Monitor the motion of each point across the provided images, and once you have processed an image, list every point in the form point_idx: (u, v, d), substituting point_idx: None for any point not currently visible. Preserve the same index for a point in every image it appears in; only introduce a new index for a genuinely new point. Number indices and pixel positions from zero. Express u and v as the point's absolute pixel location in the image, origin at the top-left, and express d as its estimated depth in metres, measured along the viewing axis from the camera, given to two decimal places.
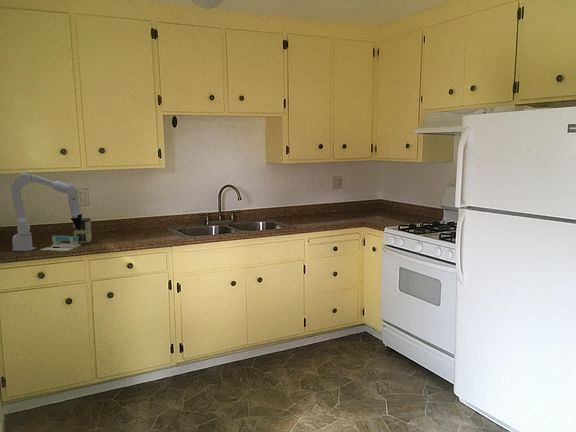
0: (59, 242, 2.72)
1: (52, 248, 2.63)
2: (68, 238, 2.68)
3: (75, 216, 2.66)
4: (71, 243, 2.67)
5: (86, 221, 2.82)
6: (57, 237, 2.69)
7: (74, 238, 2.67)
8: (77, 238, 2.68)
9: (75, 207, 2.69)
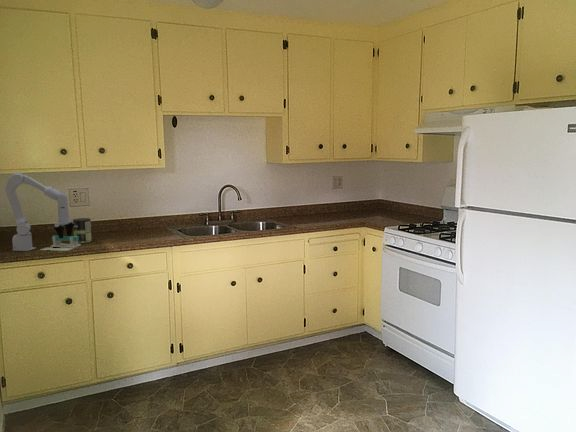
0: (59, 242, 2.72)
1: (52, 248, 2.63)
2: (68, 238, 2.68)
3: (56, 225, 2.61)
4: (71, 243, 2.67)
5: (86, 221, 2.82)
6: (57, 237, 2.69)
7: (74, 238, 2.67)
8: (77, 238, 2.68)
9: (61, 216, 2.65)
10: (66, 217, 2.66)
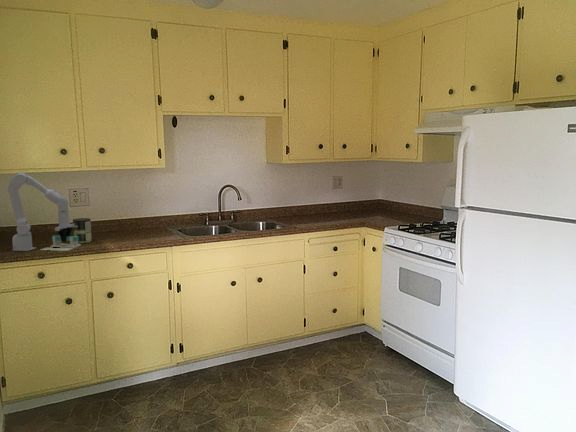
0: (59, 242, 2.72)
1: (52, 248, 2.63)
2: (68, 238, 2.68)
3: (56, 229, 2.62)
4: (71, 243, 2.67)
5: (86, 221, 2.82)
6: (57, 237, 2.69)
7: (74, 238, 2.67)
8: (77, 238, 2.68)
9: (61, 220, 2.65)
10: (66, 221, 2.67)
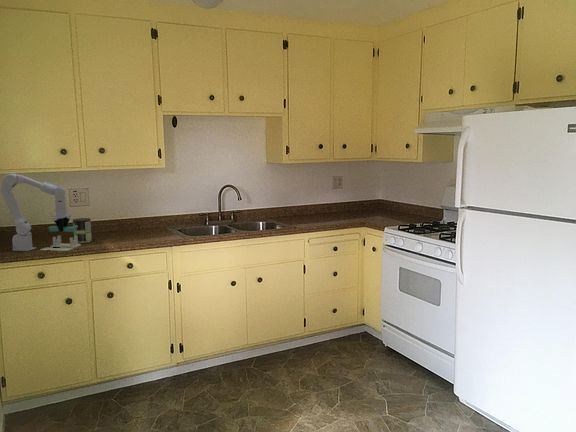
0: (59, 242, 2.72)
1: (52, 248, 2.63)
2: (65, 229, 2.65)
3: (53, 219, 2.59)
4: (71, 243, 2.67)
5: (86, 221, 2.82)
6: (54, 228, 2.67)
7: (72, 229, 2.65)
8: (75, 229, 2.66)
9: (59, 210, 2.63)
10: (64, 211, 2.64)
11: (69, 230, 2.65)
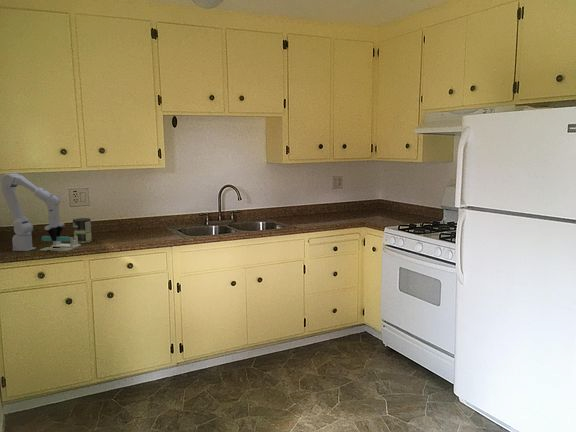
0: (59, 242, 2.72)
1: (52, 248, 2.63)
2: (58, 238, 2.60)
3: (46, 228, 2.53)
4: (71, 243, 2.67)
5: (86, 221, 2.82)
6: (47, 237, 2.61)
7: (65, 238, 2.59)
8: (68, 238, 2.60)
9: (51, 219, 2.57)
10: (57, 220, 2.58)
11: (62, 240, 2.59)
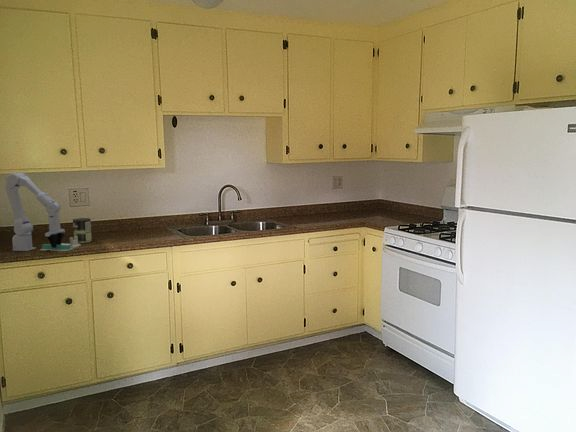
0: None
1: None
2: (59, 247, 2.60)
3: (46, 235, 2.54)
4: (71, 243, 2.67)
5: (86, 221, 2.82)
6: (48, 246, 2.61)
7: (65, 247, 2.60)
8: (68, 247, 2.60)
9: (52, 225, 2.57)
10: (57, 226, 2.59)
11: (63, 248, 2.60)
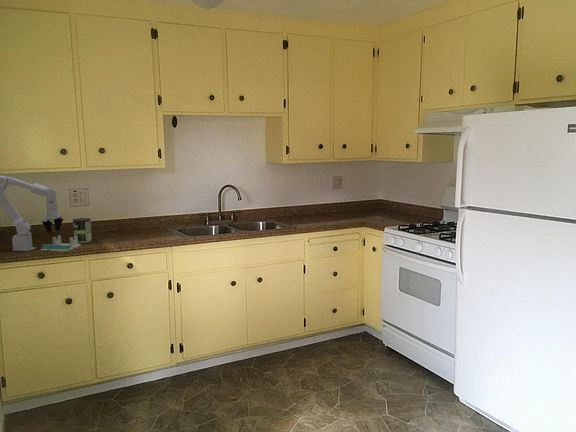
0: (59, 242, 2.72)
1: None
2: (59, 247, 2.60)
3: (44, 220, 2.58)
4: (71, 243, 2.67)
5: (86, 221, 2.82)
6: (48, 246, 2.61)
7: (65, 247, 2.60)
8: (68, 247, 2.60)
9: (49, 211, 2.62)
10: (54, 212, 2.63)
11: (63, 248, 2.60)
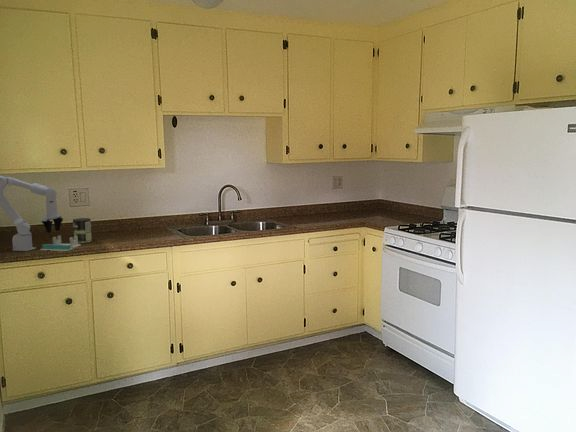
0: (59, 242, 2.72)
1: None
2: (59, 247, 2.60)
3: (44, 219, 2.59)
4: (71, 243, 2.67)
5: (86, 221, 2.82)
6: (48, 246, 2.61)
7: (65, 247, 2.60)
8: (68, 247, 2.60)
9: (49, 210, 2.63)
10: (54, 211, 2.64)
11: (63, 248, 2.60)
